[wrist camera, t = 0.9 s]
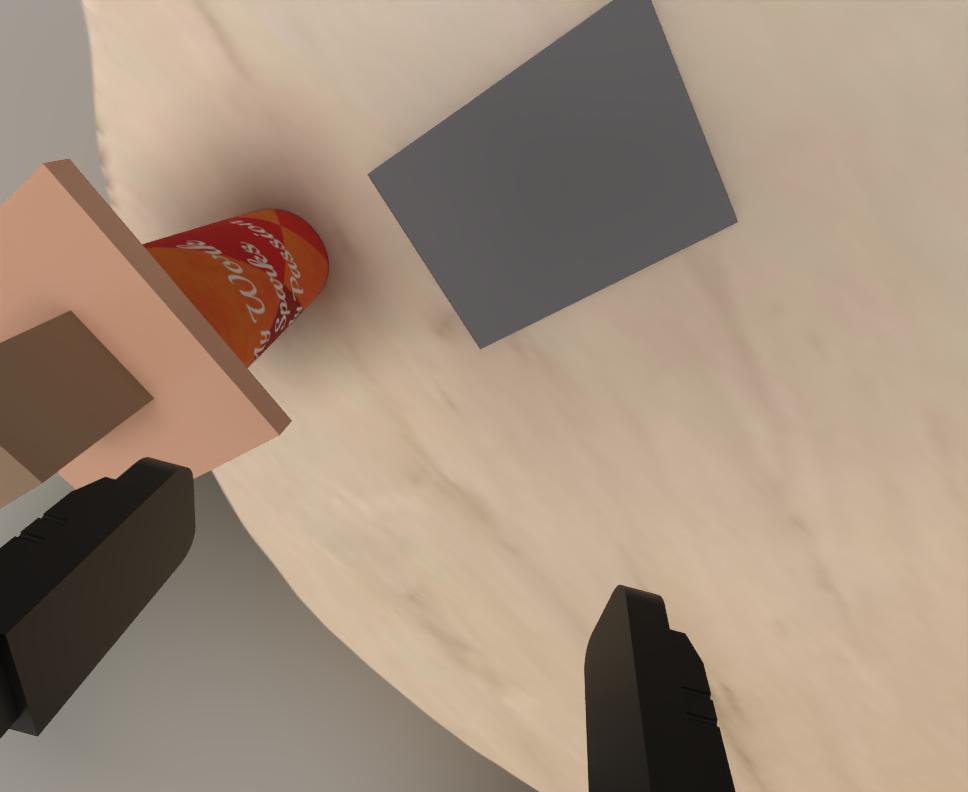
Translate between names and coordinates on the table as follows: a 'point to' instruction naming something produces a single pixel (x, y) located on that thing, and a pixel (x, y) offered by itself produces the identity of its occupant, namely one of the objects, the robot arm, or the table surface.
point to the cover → (107, 350)
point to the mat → (560, 176)
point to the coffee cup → (247, 275)
